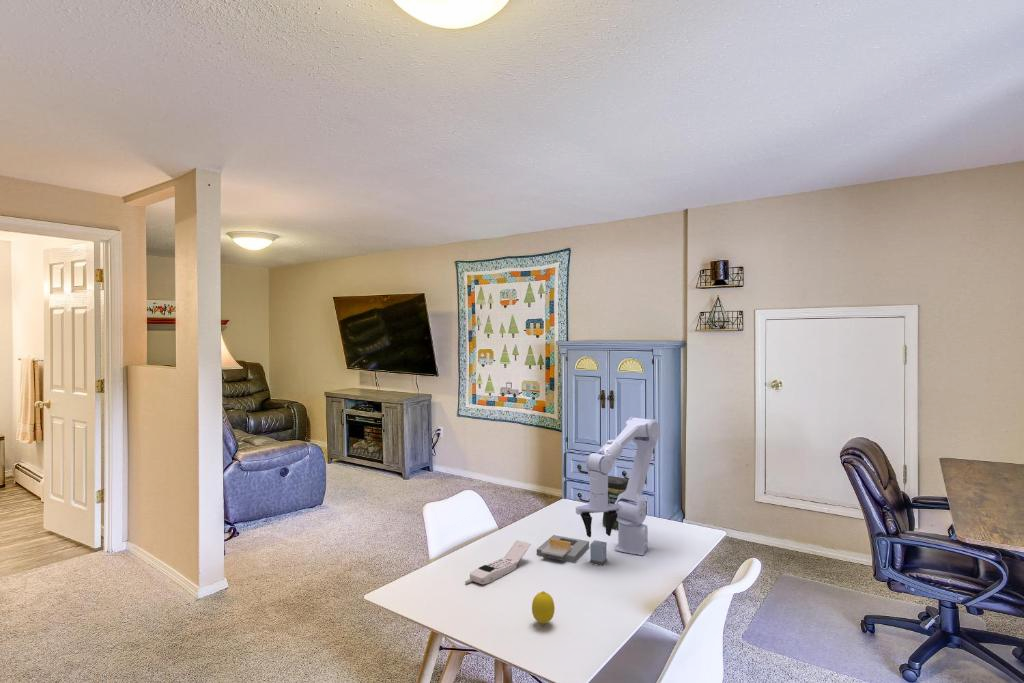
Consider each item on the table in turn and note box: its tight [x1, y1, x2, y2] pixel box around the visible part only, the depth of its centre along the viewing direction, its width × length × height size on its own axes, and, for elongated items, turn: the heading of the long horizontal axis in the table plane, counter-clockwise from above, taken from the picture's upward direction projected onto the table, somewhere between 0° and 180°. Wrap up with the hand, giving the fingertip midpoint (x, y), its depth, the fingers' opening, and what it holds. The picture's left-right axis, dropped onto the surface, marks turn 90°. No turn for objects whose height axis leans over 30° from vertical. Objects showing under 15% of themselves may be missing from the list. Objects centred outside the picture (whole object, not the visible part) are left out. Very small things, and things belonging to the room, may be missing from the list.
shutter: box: [541, 539, 572, 557], centre depth 170 cm, size 8×8×2 cm
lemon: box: [531, 590, 555, 626], centre depth 130 cm, size 6×6×8 cm
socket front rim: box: [552, 534, 590, 548], centre depth 182 cm, size 13×2×2 cm, turn 64°
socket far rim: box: [545, 535, 561, 543], centre depth 180 cm, size 4×6×2 cm, turn 154°
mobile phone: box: [464, 540, 532, 585], centre depth 160 cm, size 6×6×25 cm
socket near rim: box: [571, 541, 589, 555], centre depth 176 cm, size 4×6×2 cm, turn 154°
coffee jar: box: [602, 475, 629, 530], centre depth 200 cm, size 10×8×19 cm
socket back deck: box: [536, 541, 583, 564], centre depth 172 cm, size 13×7×2 cm, turn 64°
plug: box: [589, 539, 608, 567], centre depth 167 cm, size 4×4×6 cm
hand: (598, 535), depth 167 cm, fingers open, 6 cm apart
